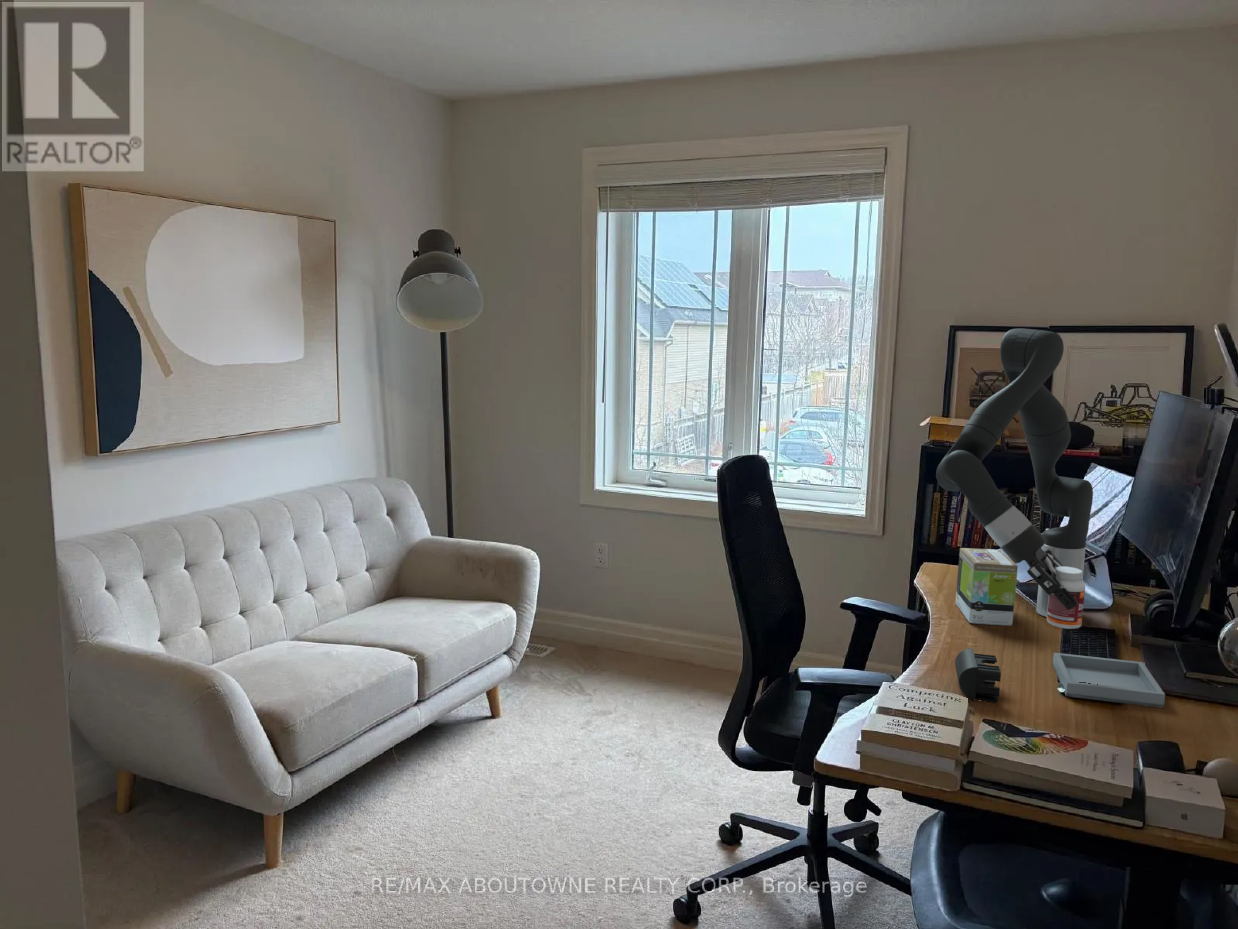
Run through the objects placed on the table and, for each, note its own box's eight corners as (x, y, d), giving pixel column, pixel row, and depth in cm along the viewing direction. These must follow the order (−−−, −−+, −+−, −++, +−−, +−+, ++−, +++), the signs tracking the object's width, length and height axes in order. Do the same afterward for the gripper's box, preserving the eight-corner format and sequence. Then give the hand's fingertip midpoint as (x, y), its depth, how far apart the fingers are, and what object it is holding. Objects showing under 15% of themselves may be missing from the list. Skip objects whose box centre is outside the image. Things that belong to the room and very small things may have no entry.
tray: (1052, 664, 178) (1053, 652, 177) (1141, 674, 173) (1142, 662, 173) (1066, 696, 163) (1067, 683, 162) (1163, 708, 158) (1165, 694, 158)
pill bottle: (1084, 631, 166) (1089, 575, 164) (1048, 627, 168) (1053, 572, 166) (1078, 620, 172) (1083, 566, 170) (1044, 617, 174) (1048, 564, 172)
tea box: (1014, 626, 200) (1019, 564, 198) (968, 624, 202) (972, 562, 200) (996, 606, 215) (1001, 548, 213) (954, 604, 217) (958, 546, 214)
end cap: (953, 679, 171) (955, 646, 170) (992, 683, 169) (995, 650, 168) (957, 700, 161) (959, 665, 160) (998, 705, 159) (1001, 670, 158)
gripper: (1023, 530, 165) (1088, 601, 161) (1036, 515, 177) (1097, 581, 172) (991, 553, 169) (1054, 623, 164) (1006, 537, 181) (1065, 602, 176)
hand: (1075, 601), depth 168 cm, fingers closed on pill bottle, 6 cm apart
